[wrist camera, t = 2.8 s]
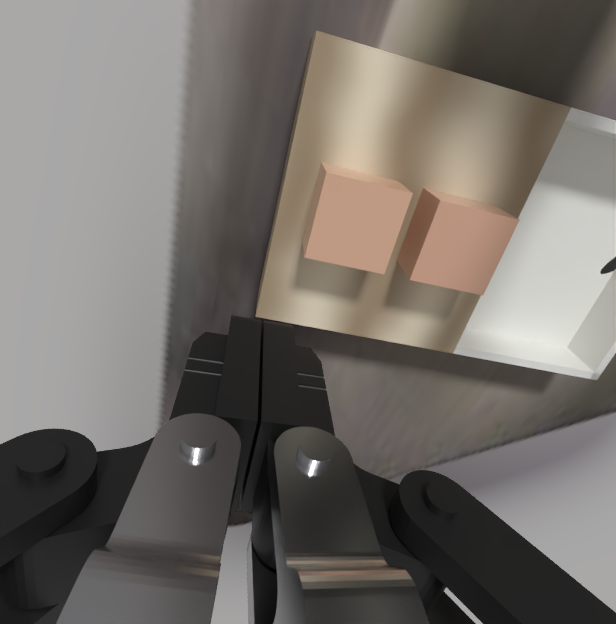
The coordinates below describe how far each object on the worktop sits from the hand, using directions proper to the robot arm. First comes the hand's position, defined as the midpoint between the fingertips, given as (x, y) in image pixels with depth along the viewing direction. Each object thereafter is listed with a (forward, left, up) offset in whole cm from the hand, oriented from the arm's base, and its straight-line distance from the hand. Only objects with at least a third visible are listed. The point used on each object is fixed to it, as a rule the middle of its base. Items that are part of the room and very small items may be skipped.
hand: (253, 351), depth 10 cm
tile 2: (-11, 0, -15) cm, 19 cm away
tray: (-20, 0, -19) cm, 28 cm away
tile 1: (-5, 0, -15) cm, 16 cm away
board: (-8, 0, -19) cm, 21 cm away
